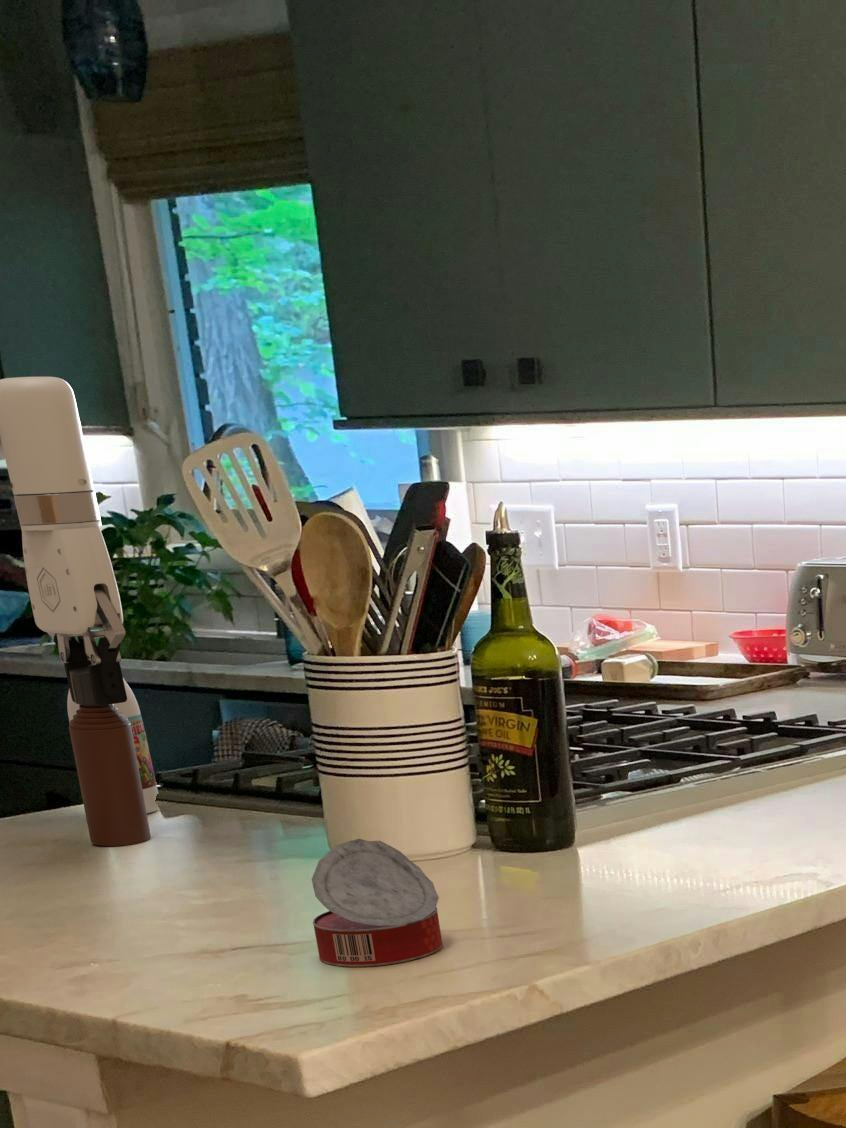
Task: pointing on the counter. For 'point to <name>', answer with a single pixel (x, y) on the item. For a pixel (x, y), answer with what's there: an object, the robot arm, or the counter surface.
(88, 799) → the sauce bottle
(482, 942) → the counter surface
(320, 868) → the canned food
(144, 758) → the milk bottle
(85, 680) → the cap
